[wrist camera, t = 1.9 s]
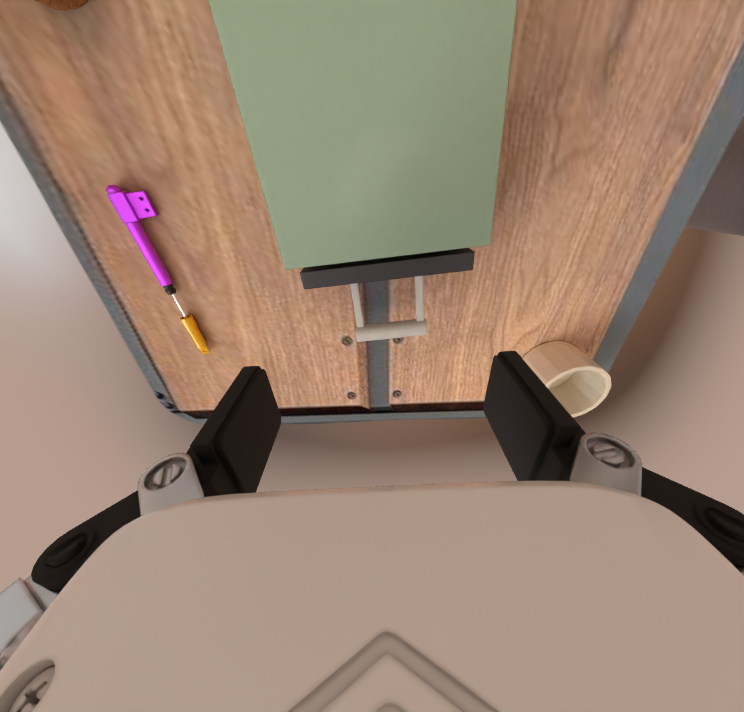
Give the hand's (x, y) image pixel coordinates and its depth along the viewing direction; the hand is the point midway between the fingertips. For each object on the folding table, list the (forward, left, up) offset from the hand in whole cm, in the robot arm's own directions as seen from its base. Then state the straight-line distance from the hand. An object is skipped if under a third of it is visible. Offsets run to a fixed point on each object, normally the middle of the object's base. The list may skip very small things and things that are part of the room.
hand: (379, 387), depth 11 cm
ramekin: (-19, +13, -18) cm, 29 cm away
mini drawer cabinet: (-1, -11, -18) cm, 20 cm away
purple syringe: (+19, -1, -18) cm, 26 cm away
